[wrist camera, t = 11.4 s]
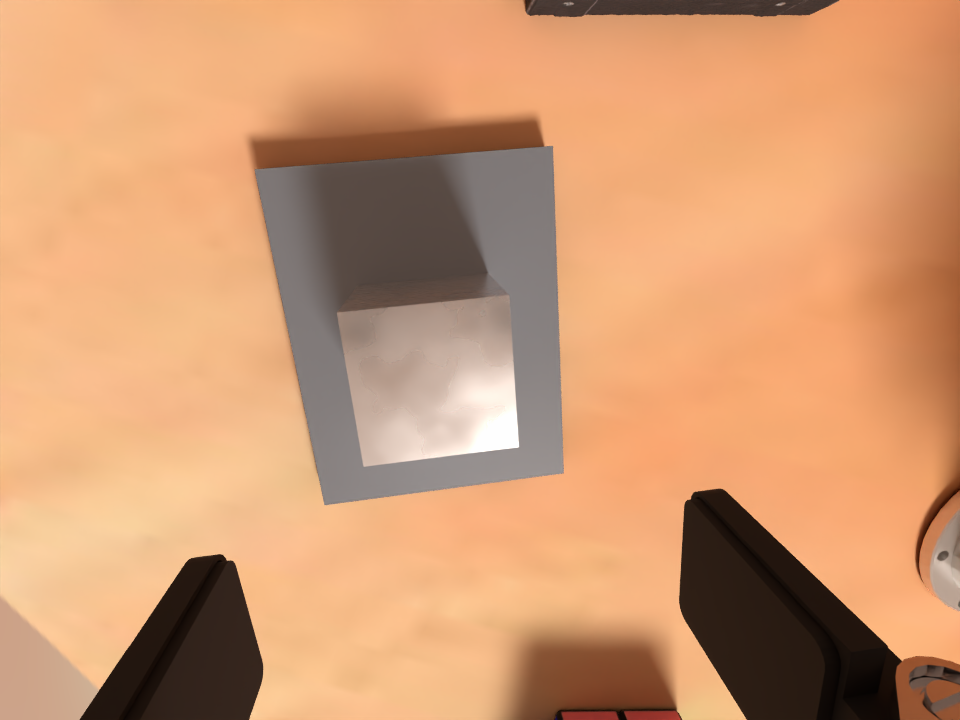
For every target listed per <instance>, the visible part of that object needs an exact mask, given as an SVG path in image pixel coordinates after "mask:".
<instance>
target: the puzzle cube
mask: <svg viewBox="0 0 960 720" xmlns="http://www.w3.org/2000/svg"><path fill="white" fill-rule="evenodd" d="M555 720H682V718H681V717H680V715H679V713H678V712H677V711H675V710H624V711H621V712H620V713H619V714H618V713H617V712H616V711H559V712H558V713H557V714H556V718H555Z"/></svg>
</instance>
